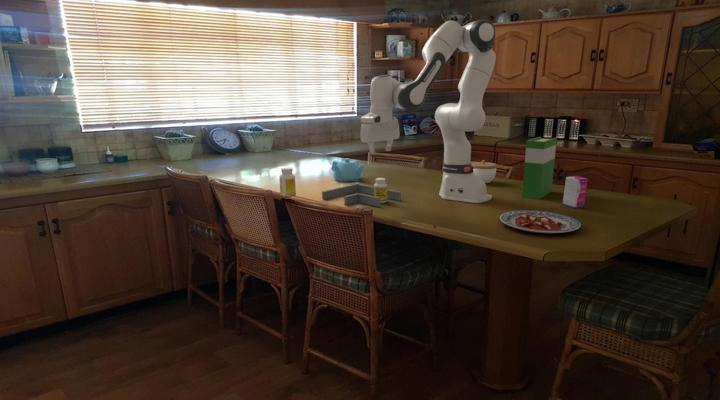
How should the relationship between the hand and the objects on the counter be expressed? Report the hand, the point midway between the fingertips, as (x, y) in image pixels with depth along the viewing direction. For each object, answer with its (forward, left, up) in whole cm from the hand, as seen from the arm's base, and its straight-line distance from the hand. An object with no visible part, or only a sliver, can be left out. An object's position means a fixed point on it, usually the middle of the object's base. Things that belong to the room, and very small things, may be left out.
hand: (380, 152), depth 190 cm
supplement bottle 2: (0, 0, -21) cm, 21 cm away
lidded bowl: (-12, -62, -21) cm, 67 cm away
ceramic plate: (-62, -11, -21) cm, 66 cm away
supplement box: (-61, -46, -21) cm, 79 cm away
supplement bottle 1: (+33, +22, -21) cm, 45 cm away
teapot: (+42, -23, -21) cm, 52 cm away
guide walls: (+8, +3, -20) cm, 22 cm away
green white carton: (-42, -56, -21) cm, 73 cm away
